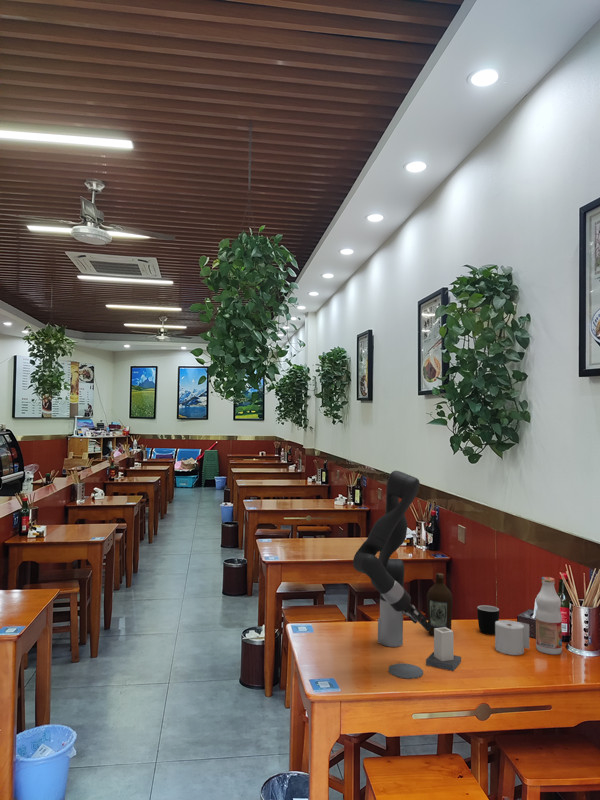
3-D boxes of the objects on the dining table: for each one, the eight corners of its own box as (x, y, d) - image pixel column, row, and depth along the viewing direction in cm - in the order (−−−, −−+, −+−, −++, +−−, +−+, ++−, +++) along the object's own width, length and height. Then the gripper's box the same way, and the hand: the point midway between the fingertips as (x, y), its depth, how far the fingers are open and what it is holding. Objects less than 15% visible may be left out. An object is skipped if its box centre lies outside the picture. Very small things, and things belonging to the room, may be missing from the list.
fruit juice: (531, 646, 227) (531, 575, 229) (554, 646, 227) (554, 575, 229) (542, 655, 218) (542, 580, 220) (566, 655, 218) (565, 581, 220)
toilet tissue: (489, 649, 222) (489, 623, 223) (506, 642, 230) (505, 617, 231) (515, 657, 214) (515, 630, 215) (531, 650, 222) (530, 624, 223)
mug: (502, 635, 239) (502, 611, 239) (482, 635, 238) (482, 611, 239) (491, 626, 251) (491, 603, 251) (471, 626, 250) (471, 603, 251)
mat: (383, 673, 196) (383, 671, 196) (395, 662, 207) (395, 660, 207) (416, 681, 190) (416, 679, 190) (427, 669, 200) (427, 668, 200)
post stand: (425, 665, 205) (426, 636, 206) (434, 656, 213) (434, 629, 214) (453, 671, 200) (453, 642, 201) (461, 662, 208) (461, 634, 209)
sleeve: (441, 661, 204) (441, 632, 204) (433, 656, 208) (434, 628, 209) (453, 659, 205) (453, 631, 206) (445, 654, 210) (445, 627, 211)
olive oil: (428, 628, 246) (429, 570, 248) (454, 632, 242) (454, 572, 244) (424, 636, 236) (425, 575, 238) (450, 640, 232) (451, 578, 234)
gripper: (411, 591, 196) (440, 622, 199) (392, 582, 210) (419, 611, 213) (398, 608, 194) (427, 639, 197) (379, 597, 208) (406, 627, 210)
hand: (422, 625), depth 205 cm, fingers open, 8 cm apart
